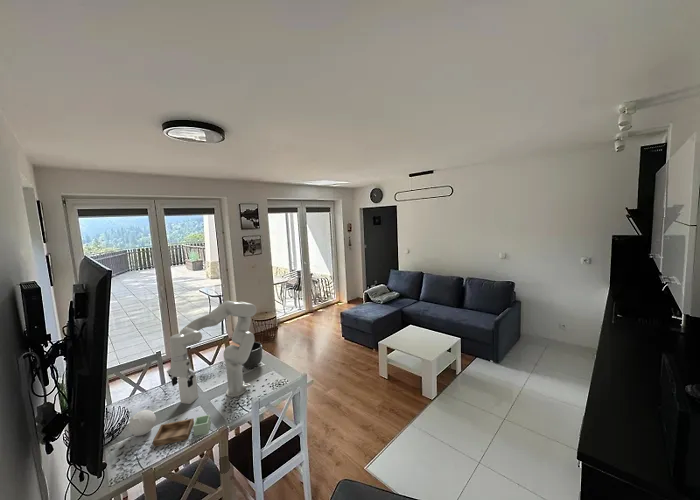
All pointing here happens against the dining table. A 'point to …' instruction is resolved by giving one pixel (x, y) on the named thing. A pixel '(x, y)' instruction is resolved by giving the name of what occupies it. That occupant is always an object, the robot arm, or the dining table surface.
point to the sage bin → (202, 425)
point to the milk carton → (187, 390)
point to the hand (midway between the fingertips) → (182, 385)
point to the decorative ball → (142, 422)
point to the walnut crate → (173, 432)
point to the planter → (254, 356)
